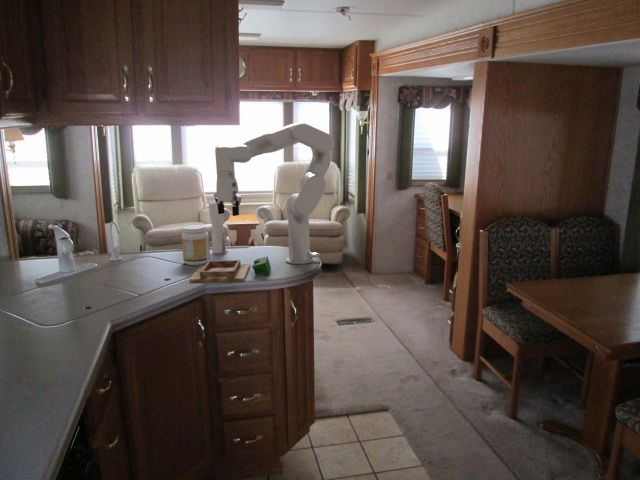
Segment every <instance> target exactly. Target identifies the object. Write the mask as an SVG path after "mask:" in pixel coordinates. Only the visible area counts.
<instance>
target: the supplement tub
mask: <svg viewBox="0 0 640 480" xmlns="http://www.w3.org/2000/svg"><path fill="white" fill-rule="evenodd" d="M182 232H183V233H181V243H182V246H181V247H182V257H183V259H182V260H183V263H184V264H185V265H188V266H201V265H206V264H207V262H208V261H211V254H210V253H211V252H210V237H209V236H210V235H209V233H208V231H207V226H206V225H203V224H191V225H186V226H184V227H182Z"/></svg>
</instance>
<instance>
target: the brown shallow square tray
mask: <svg viewBox="0 0 640 480" xmlns="http://www.w3.org/2000/svg"><path fill="white" fill-rule="evenodd" d="M250 269H251V264H250V263H248V264H247V263H246V264H243V263H241V260H240V259H232V260H231V259H230V260H229V259H225V260H210V261H208V262H207V263H205V264H201V265H199V267H198V268H197V269H196V270H195V271H194V273H193V274H192V275H191V277H190V278H189V283H211V282H212V283H216V282H223V283H224V282H244V281H245V279H246V277H247V275H248V272H249V270H250Z"/></svg>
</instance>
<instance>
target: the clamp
mask: <svg viewBox="0 0 640 480" xmlns="http://www.w3.org/2000/svg"><path fill="white" fill-rule="evenodd" d="M251 267H252V270H253V271H254V274H255V276H256V275H260V274H263V276H264V277H265V276H268V275H270V274H271V270H272V267H271V264H270V260H269V257H268V256H264V257H260V258H256V259H254V260H253V263H252V265H251Z"/></svg>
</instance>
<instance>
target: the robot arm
mask: <svg viewBox="0 0 640 480" xmlns="http://www.w3.org/2000/svg"><path fill="white" fill-rule="evenodd" d="M299 143H301V144H302V145H305V146H306V147H309V148H310V150H311V152H312V158H311V160H310V163H309V165H308V166H307V167H306V170H305V172H304V173H303V175H302V176H301V179H300V180H299V187H300V189H301V190H300V192H296V193H292V194H291V195H289V197H288V198H287V201H286V211H287V212H286V213H287V225H288V228H287V229H288V230H287V231H288V257H286V258H285V261H286V263H287V264H290V265H306V264H311V263H312V262H313V261H314V258H320V253H319V252H318V253H317V252H311V249H310V220H309V218H310V217H309V216H310V215H311V214H313V212H314V211H315V209H316V207H317V206H318V204H319V202H320V201H321V199H322V198H323V196H324V193H325V190H326V188H327V182H326V180H325V176H326V174H327V173H328V170H329V168H330V165H331V157H332V156H331V152H332V150H333V149H334V147H335V140H334V138H333V136H332V135H331V134H329V133H328V132H325V131H322V130H320V129H318V128H316V127H314V126H312V125H310V124H307V123H304V122H294V123H292V124H291V123H290V124H289V125H285V126H284V127H281V128H278V129H275V130H273V131H270V132H267V133H265V134H262V135H260V136H258V137H254V138H253V139H249V140H246V141H244V142H241V143H238V144H236V145H235V146H231V145H221V146H220V145H218V146H216V147H215V148H214V150H215V151H214V153H215V156H214V157H215V166H216V192H215V193H214V194H213V197H214V201H216V202H217V203H216V204H217V205H218V214H223V213H224V214H225V211H226V210H225V203H224V202H226V203H231V211H232V217H237V216H239V215H240V206H241V203H242V196H241V195H240V194H239V193H240V192H239V186H238V181H237V178H236V177H235V176H236V175H235V173H236V171H235V163H242V164H245V163H248V162H250V161H251V159H252V158H254V157H257V156H260V155H264V154H270V153H275V152H277V151H280V150H283V149H285V148H288V147H290V146H294V145H296V144H299ZM223 203H224V204H223Z"/></svg>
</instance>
